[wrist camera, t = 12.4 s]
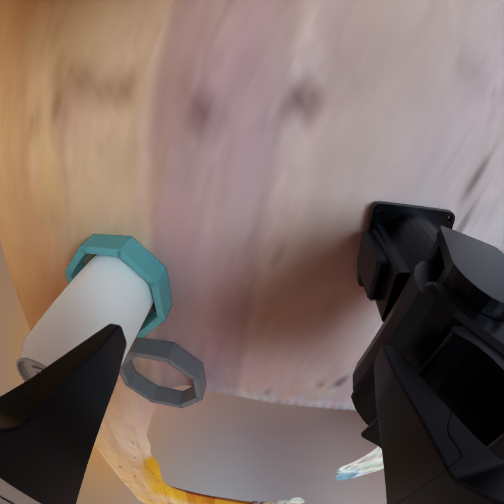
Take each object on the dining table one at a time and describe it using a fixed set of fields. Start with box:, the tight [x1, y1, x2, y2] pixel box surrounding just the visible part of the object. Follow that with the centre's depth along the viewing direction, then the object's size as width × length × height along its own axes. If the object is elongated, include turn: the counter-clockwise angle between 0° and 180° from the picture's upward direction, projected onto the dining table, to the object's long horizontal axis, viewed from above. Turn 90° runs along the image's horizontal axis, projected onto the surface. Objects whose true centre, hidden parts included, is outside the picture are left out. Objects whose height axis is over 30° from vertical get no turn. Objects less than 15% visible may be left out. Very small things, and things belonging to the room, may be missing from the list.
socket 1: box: [65, 234, 172, 338], centre depth 24 cm, size 9×9×2 cm
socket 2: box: [119, 338, 206, 408], centre depth 29 cm, size 9×9×2 cm
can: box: [16, 254, 154, 382], centre depth 19 cm, size 6×6×12 cm
